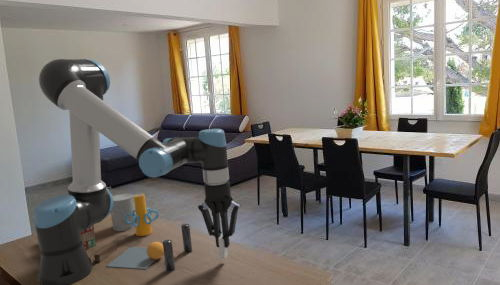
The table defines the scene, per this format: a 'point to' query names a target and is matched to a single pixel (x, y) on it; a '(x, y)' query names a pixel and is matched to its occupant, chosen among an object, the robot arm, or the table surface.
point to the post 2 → (186, 238)
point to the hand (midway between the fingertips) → (224, 256)
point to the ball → (155, 250)
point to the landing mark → (133, 259)
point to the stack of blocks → (88, 237)
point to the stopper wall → (105, 252)
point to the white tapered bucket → (122, 211)
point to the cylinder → (141, 216)
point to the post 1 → (168, 255)
